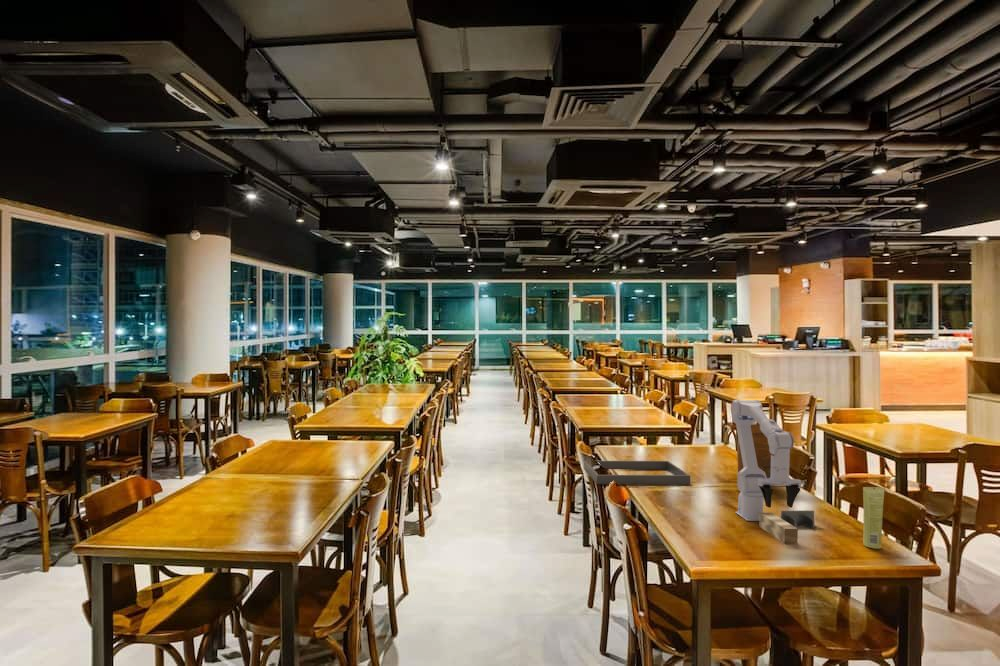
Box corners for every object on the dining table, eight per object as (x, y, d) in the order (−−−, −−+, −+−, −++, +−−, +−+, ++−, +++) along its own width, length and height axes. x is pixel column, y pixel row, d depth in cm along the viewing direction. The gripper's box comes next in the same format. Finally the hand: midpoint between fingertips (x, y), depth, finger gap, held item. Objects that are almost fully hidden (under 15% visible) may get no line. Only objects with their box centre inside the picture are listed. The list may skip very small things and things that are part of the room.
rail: (759, 526, 202) (759, 512, 202) (771, 526, 202) (771, 512, 202) (784, 543, 186) (784, 528, 186) (797, 543, 186) (797, 528, 186)
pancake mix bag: (780, 486, 255) (782, 424, 254) (738, 485, 255) (739, 423, 255) (774, 482, 261) (775, 422, 261) (732, 481, 262) (733, 421, 262)
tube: (865, 541, 188) (866, 483, 188) (883, 546, 185) (884, 486, 185) (861, 546, 184) (862, 487, 184) (879, 550, 181) (881, 490, 181)
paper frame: (583, 468, 281) (583, 460, 281) (668, 468, 283) (668, 460, 283) (596, 484, 253) (596, 475, 253) (690, 484, 255) (690, 475, 255)
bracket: (780, 524, 204) (781, 510, 204) (812, 524, 205) (813, 510, 205) (788, 528, 200) (788, 514, 200) (820, 528, 200) (821, 514, 200)
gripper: (765, 470, 189) (764, 510, 189) (807, 470, 190) (806, 510, 190) (754, 464, 196) (753, 503, 196) (795, 465, 197) (794, 503, 197)
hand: (778, 506), depth 193 cm, fingers open, 7 cm apart
